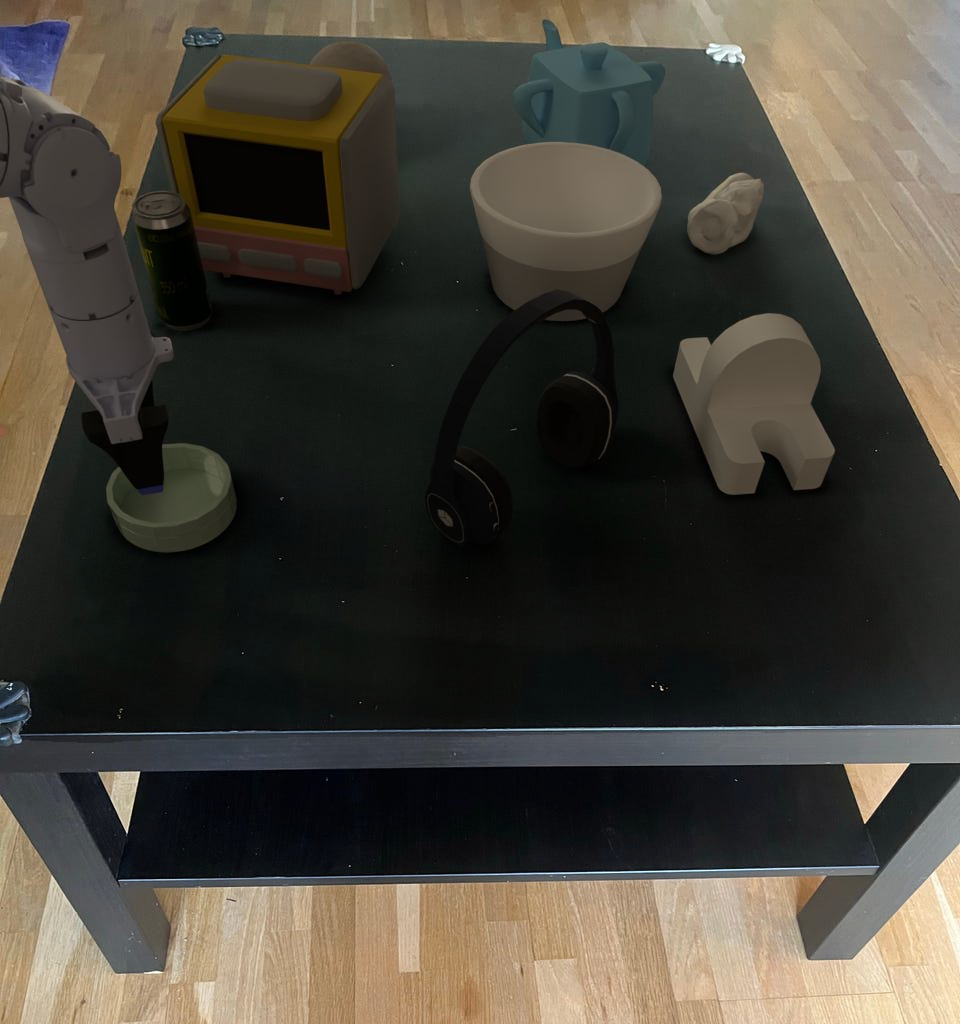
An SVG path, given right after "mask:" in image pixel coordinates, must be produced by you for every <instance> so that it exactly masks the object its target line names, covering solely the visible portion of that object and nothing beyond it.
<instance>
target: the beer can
mask: <svg viewBox="0 0 960 1024" xmlns="http://www.w3.org/2000/svg"><path fill="white" fill-rule="evenodd" d="M131 208H132V215H131V218H132V222H133V226H134V229H135V234H136V237H137V239H138V244H139V247H140V252H141V256H142V259H143V262H144V266H145V270H146V273H147V277H148V280H149V284H150V285H149V286H150V288H151V292H152V296H153V300H154V302H155V307H156V310H157V313H158V317H159V319H160V320H161V321H162V323H164V325H165V326H166V327H167V328H169V329H171V330H174V331H178V332H188V331H189V332H190V331H194V330H197V329H200V328H202V327H203V326H205V325H207V324H208V323H209V321H210V320H211V316H212V312H213V306H212V300H211V297H210V292H209V288H208V283H207V278H206V275H205V270H204V269H203V265H202V260H201V256H200V251H199V247H198V243H197V238H196V234H195V229H194V225H193V220H192V216H191V211H190V208H189V207H188V206H187V204H186V201H185V198H184V197H183V196H182V195H180V194H178V193H176V192H172V191H171V190H157V191H156V190H153V191H150V192H146V193H143V194H142V195H139V196H138V197H136V198H135V199H134V200H133V202H132V204H131Z"/></svg>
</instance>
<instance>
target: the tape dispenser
mask: <svg viewBox="0 0 960 1024" xmlns="http://www.w3.org/2000/svg"><path fill="white" fill-rule="evenodd" d="M821 372H822V365H821V359H820V357H819V355H818V353H817V351H816V349H815V348H814V346H813V344H812V342H811V341H810V339H809V337H808V336H807V334H806V332H805V330H804V328H803V327H802V325H801V324H800V323H799V322H797V320H795V319H794V318H792V317H790V316H787V315H785V314H782V313H772V312H771V313H769V312H767V313H762V314H761V313H760V314H755V315H751V316H748V317H747V318H744V319H741V320H738V322H736V323H734V324H732V325H730V326H729V327H728V328H727V329H725V330H723V332H722V333H720V335H718V337H716V338H715V340H713V342H712V343H711V342H710V340H709V338H708V337H707V336H705V337H703V336H702V337H687V338H685V339H682V340H680V342H679V346H678V351H677V355H676V360H675V365H674V369H673V373H672V378H673V380H674V383H675V385H676V387H677V390H678V393H679V395H680V397H681V400H682V403H683V405H684V408H685V411H686V412H687V415H688V417H689V419H690V422H691V424H692V427H693V429H694V432H695V434H696V437H697V439H698V441H699V445H700V446H701V449H702V452H703V454H704V457H705V459H706V461H707V463H708V466H709V469H710V471H711V473H712V477H713V478H714V482H715V483H716V486H717V488H718V489H719V491H721V492H723V493H724V494H726V495H732V496H733V495H735V496H736V495H737V496H738V495H748V494H755V493H756V490H757V487H758V483H759V481H760V478H761V474H762V472H763V469H764V466H765V464H766V461H765V459H764V456H763V455H762V453H763V452H764V453H767V454H769V455H772V456H773V457H775V458H776V459H777V460H778V462H779V463H780V465H781V467H782V469H783V471H784V474H785V475H786V477H787V479H788V482H789V483H790V486H791V488H792V490H793V491H800V490H801V491H802V490H814V489H818V488H820V487H821V486H822V484H823V483H824V479H825V476H826V474H827V472H828V470H829V467H830V465H831V462H832V460H833V457H834V455H835V451H836V449H835V446H834V445H833V443H832V441H831V439H830V437H829V435H828V434H827V432H826V430H825V428H824V426H823V424H822V423H821V421H820V419H819V417H818V415H817V413H816V411H815V409H814V408H813V405H812V401H813V397H814V396H815V392H816V390H817V387H818V384H819V381H820V376H821Z"/></svg>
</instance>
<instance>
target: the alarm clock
mask: <svg viewBox="0 0 960 1024" xmlns="http://www.w3.org/2000/svg"><path fill="white" fill-rule="evenodd" d="M395 92H396V89H395V86H394V84H393V81H392V82H391V80H390V79H389V78H388V77H387V76H386V75H385V76H383V75H382V74H379V73H371V72H362V71H354V70H346V69H338V68H330V67H322V66H314V65H309V64H305V63H298V62H297V63H296V62H289V61H281V60H274V59H273V60H272V59H267V58H266V59H264V58H258V57H257V58H256V57H249V56H241V55H232V54H226V53H224V54H223V55H221V54H218V55H216V56H214V57H213V58H211V60H210V61H209V62H208V63H207V64H206V65H205V66H204V67H203V68H202V69H201V70H200V71H199V72H198V73H197V74H196V75H195V76H194V77H193V78H192V79H191V80H190V81H189V83H187V84H186V85H185V86H184V87H183V88H182V89H181V90H180V91H179V92H178V93H177V94H176V96H175V97H173V98H172V99H171V101H170V102H168V104H167V105H165V107H164V108H163V109H162V110H161V111H160V112H158V114H157V116H156V119H155V126H156V130H157V136H158V138H159V139H158V140H159V143H160V148H161V152H162V156H163V157H162V158H163V161H164V166H165V171H166V174H167V178H168V183H169V186H170V191H171V192H176V193H178V194H180V195H182V196H183V197H184V198H185V201H186V204H187V206H188V207H189V208H190V211H191V216H192V220H193V225H194V229H195V234H196V238H197V243H198V247H199V251H200V256H201V260H202V265H203V269H204V271H208V272H215V273H222V275H223V277H224V278H225V279H227V278H231V277H232V275H235V276H241V277H247V278H254V279H260V280H268V281H272V282H273V281H274V282H280V283H288V284H293V285H299V286H306V287H314V288H320V289H326V290H333V294H334V295H342V293H343V292H346V293H350V292H351V291H352V290H353V289H354V290H357V289H360V288H362V285H363V284H364V283H365V281H366V279H367V277H368V276H369V274H370V272H371V270H372V268H373V267H374V265H375V263H376V261H377V259H378V257H379V255H380V254H381V252H382V250H383V248H384V246H385V244H386V243H387V241H388V239H389V237H390V236H391V234H392V232H393V230H394V229H395V226H396V224H397V223H398V221H399V219H400V217H401V207H400V186H399V185H400V184H399V161H398V159H399V158H398V139H397V137H398V136H397V114H396V112H397V111H396V93H395Z"/></svg>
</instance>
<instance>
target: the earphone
mask: <svg viewBox="0 0 960 1024" xmlns="http://www.w3.org/2000/svg"><path fill="white" fill-rule="evenodd" d="M564 310H579V311H581V312H582V313H583V314H584V315H585V317H586V320H587V321H588V323H589V324H590V327H591V329H592V332H593V337H594V338H593V339H594V343H595V362H594V367H593V368H592V370H591V372H590V373H589V374H587V373H584V372H580V371H573V370H571V371H569V372H567V373H566V374H564V375H562V376H560V377H559V378H557V379H555V380H554V381H553V382H551V383H549V384H548V385H547V386H545V389H544V390H543V392H542V394H541V396H540V399H539V403H538V408H537V412H536V413H537V415H536V422H535V423H536V424H535V425H536V435H537V438H538V441H539V443H540V446H541V448H542V449H543V450H544V451H545V452H546V453H547V455H549V456H550V457H551V458H553V459H554V460H555V461H557V462H559V463H560V464H562V465H563V466H566V467H570V468H574V469H579V470H580V469H583V468H585V467H587V466H589V465H591V464H593V463H595V462H597V461H599V460H600V459H602V458H604V457H605V456H606V454H607V453H608V451H609V449H610V448H611V446H612V443H613V440H614V437H615V434H616V428H617V422H618V417H619V411H620V408H619V407H620V406H619V397H618V391H617V385H616V379H615V347H614V341H613V336H612V331H611V328H610V325H609V323H608V321H607V318H606V316H605V314H604V312H602V311H601V310H600V309H599V308H598V307H597V306H595V305H594V304H592V303H590V302H588V301H586V300H584V299H582V298H580V297H579V296H577V295H575V294H573V293H571V292H569V291H564V290H557V289H556V290H553V291H550V292H547V293H544V294H542V295H540V296H538V297H536V298H534V299H532V300H530V301H528V302H526V303H525V304H523V305H522V306H521V307H519V308H518V309H516V310H512V312H511V313H510V314H508V315H507V316H506V317H505V318H504V319H503V320H501V321H500V322H499V323H498V324H497V325H495V327H493V329H492V330H491V331H490V333H489V334H488V335H487V336H486V338H484V340H483V341H482V343H481V344H480V345H479V347H478V349H477V350H476V352H475V353H474V355H473V357H472V358H471V359H470V361H469V363H468V365H467V366H466V368H465V370H464V372H463V374H462V375H461V377H460V379H459V381H458V383H457V385H456V387H455V389H454V392H453V394H452V397H451V399H450V401H449V404H448V407H447V408H446V412H445V414H444V416H443V420H442V423H441V426H440V429H439V432H438V436H437V441H436V446H435V452H434V458H433V459H434V460H433V463H432V465H431V469H430V482H429V484H428V486H427V488H426V490H425V493H424V504H425V509H426V512H427V515H428V518H429V521H430V522H431V523H432V525H433V526H434V528H435V529H436V530H437V531H438V532H439V533H440V534H441V535H442V536H444V537H445V538H446V539H447V540H449V541H451V542H452V543H453V544H454V545H455V544H456V545H458V546H460V547H463V546H465V545H467V543H468V541H469V542H471V543H474V544H479V545H487V544H491V543H492V542H493V541H495V539H496V538H497V536H499V535H501V533H503V532H504V531H505V529H506V528H508V527H509V526H510V523H511V521H512V518H513V514H514V503H513V502H514V501H513V494H512V490H511V487H510V484H509V481H508V479H507V478H506V476H505V474H504V473H503V472H502V469H500V468H499V467H498V466H497V465H496V464H495V463H494V462H493V461H492V460H491V459H489V458H488V457H486V456H485V455H483V454H482V453H480V452H478V451H477V450H475V449H473V448H471V447H468V446H464V445H459V442H460V439H461V435H462V433H463V430H464V427H465V424H466V422H467V419H468V417H469V415H470V412H471V409H472V407H473V405H474V404H475V401H476V399H478V398H477V397H479V394H480V392H481V390H482V388H483V387H484V385H485V383H486V381H487V380H488V379H489V376H490V375H491V373H492V372H493V370H494V369H495V368H496V366H497V365H498V363H499V361H501V359H502V357H503V356H504V355H505V354H506V353H507V351H508V350H509V349H510V348H511V347H512V346H513V344H514V343H516V341H518V340H519V339H520V338H521V337H522V336H523V335H524V334H525V333H527V332H528V331H529V330H531V329H532V328H533V327H535V326H536V325H538V324H539V323H542V322H543V321H545V320H544V319H546V318H548V317H550V316H552V315H553V314H555V313H558V312H561V311H564Z"/></svg>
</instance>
